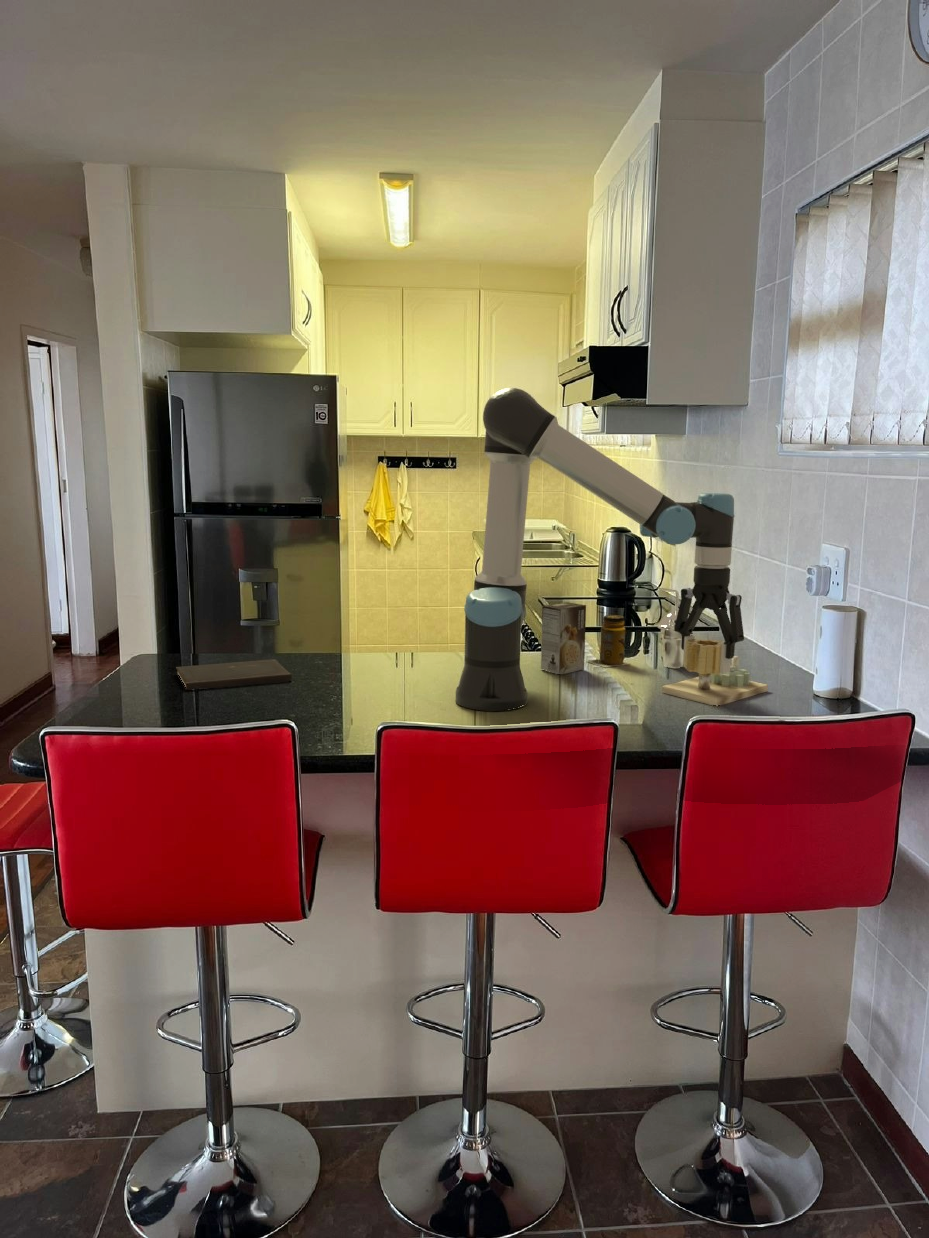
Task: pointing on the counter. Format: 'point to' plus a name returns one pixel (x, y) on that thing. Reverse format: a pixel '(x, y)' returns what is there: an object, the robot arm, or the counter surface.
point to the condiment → (612, 642)
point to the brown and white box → (563, 637)
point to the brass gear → (703, 656)
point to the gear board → (713, 691)
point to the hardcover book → (233, 674)
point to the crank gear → (732, 676)
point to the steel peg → (704, 681)
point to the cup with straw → (671, 637)
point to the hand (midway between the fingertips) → (706, 668)
